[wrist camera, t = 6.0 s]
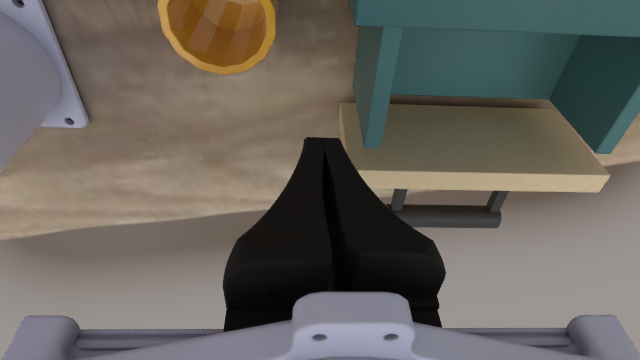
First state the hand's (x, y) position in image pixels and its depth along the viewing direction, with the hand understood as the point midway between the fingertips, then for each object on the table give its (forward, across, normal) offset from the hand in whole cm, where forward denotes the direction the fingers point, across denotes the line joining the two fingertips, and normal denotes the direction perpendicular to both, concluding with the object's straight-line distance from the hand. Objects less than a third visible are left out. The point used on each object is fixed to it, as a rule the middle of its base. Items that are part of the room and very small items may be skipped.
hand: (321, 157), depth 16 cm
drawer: (+8, -8, 0) cm, 12 cm away
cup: (+9, +4, -3) cm, 11 cm away
